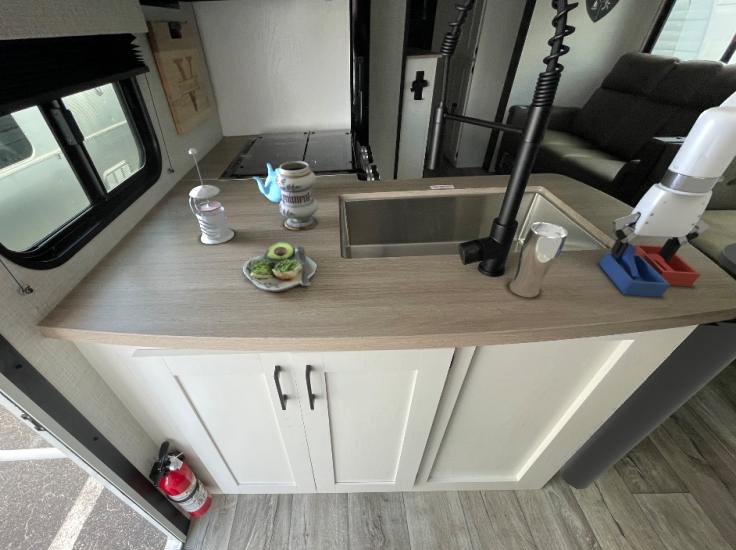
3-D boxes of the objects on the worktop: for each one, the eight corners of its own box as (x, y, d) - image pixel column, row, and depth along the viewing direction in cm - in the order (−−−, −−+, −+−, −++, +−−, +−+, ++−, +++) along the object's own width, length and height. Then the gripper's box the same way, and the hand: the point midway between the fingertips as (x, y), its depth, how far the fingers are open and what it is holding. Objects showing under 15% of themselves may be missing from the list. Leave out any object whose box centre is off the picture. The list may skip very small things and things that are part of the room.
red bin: (627, 256, 83) (634, 244, 81) (659, 257, 82) (667, 246, 80) (654, 284, 74) (663, 271, 72) (690, 286, 73) (701, 274, 71)
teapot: (307, 190, 126) (304, 163, 119) (296, 206, 114) (293, 176, 108) (271, 189, 128) (266, 162, 121) (257, 204, 116) (251, 175, 110)
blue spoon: (638, 280, 74) (644, 277, 73) (621, 279, 75) (627, 275, 73) (629, 247, 78) (634, 243, 77) (613, 246, 79) (618, 242, 77)
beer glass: (511, 297, 72) (536, 237, 62) (503, 279, 77) (525, 221, 68) (545, 299, 71) (575, 238, 61) (534, 281, 76) (560, 222, 67)
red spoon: (679, 281, 74) (684, 275, 73) (662, 280, 74) (666, 274, 73) (656, 260, 81) (660, 253, 80) (640, 259, 81) (644, 252, 80)
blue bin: (599, 264, 81) (606, 252, 79) (631, 266, 80) (639, 254, 78) (623, 294, 72) (632, 282, 69) (660, 297, 70) (670, 284, 68)
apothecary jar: (286, 235, 98) (277, 174, 86) (278, 218, 107) (269, 162, 95) (324, 227, 101) (320, 168, 89) (313, 212, 110) (308, 156, 98)
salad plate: (336, 279, 79) (335, 263, 76) (270, 307, 72) (267, 291, 69) (296, 247, 92) (295, 232, 89) (237, 269, 84) (233, 253, 81)
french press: (218, 246, 94) (191, 155, 78) (189, 238, 98) (158, 151, 82) (240, 232, 100) (219, 145, 84) (212, 225, 104) (187, 141, 89)
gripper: (725, 175, 64) (672, 250, 75) (627, 174, 67) (590, 246, 78) (756, 189, 59) (694, 268, 69) (648, 187, 61) (604, 263, 72)
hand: (639, 256), depth 74 cm, fingers open, 9 cm apart
